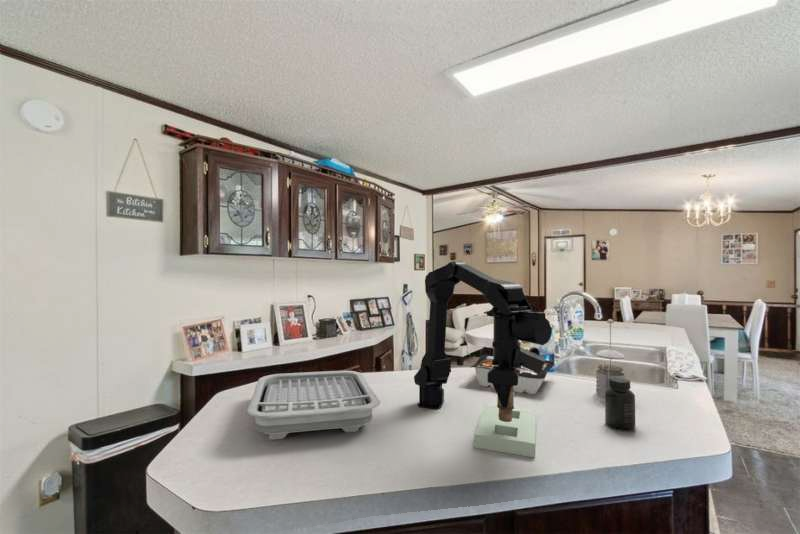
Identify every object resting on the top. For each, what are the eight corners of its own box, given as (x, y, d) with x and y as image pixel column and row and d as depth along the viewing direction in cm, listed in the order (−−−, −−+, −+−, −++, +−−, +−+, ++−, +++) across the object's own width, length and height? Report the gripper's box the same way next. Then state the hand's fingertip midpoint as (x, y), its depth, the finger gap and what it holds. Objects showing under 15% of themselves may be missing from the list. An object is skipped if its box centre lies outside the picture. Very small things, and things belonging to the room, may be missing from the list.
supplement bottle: (631, 422, 101) (631, 377, 101) (638, 433, 94) (638, 385, 94) (602, 419, 103) (602, 375, 103) (607, 429, 96) (607, 382, 97)
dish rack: (359, 390, 126) (359, 366, 126) (384, 438, 91) (384, 405, 91) (259, 398, 118) (259, 372, 118) (243, 454, 83) (243, 418, 83)
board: (535, 457, 82) (535, 443, 82) (474, 447, 86) (474, 434, 86) (535, 422, 100) (535, 411, 100) (485, 415, 105) (486, 404, 105)
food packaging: (468, 365, 131) (486, 352, 151) (467, 387, 131) (486, 371, 151) (544, 375, 119) (554, 360, 138) (544, 399, 119) (554, 381, 138)
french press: (630, 398, 120) (631, 319, 120) (623, 408, 111) (624, 322, 111) (596, 391, 126) (597, 316, 127) (587, 400, 118) (587, 319, 118)
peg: (496, 421, 87) (496, 377, 87) (497, 415, 91) (498, 373, 91) (513, 423, 86) (513, 379, 86) (514, 417, 89) (514, 375, 89)
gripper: (543, 348, 77) (542, 425, 77) (542, 333, 94) (542, 396, 94) (487, 343, 81) (486, 417, 81) (496, 330, 98) (496, 390, 98)
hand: (505, 404), depth 88 cm, fingers closed on peg, 4 cm apart
